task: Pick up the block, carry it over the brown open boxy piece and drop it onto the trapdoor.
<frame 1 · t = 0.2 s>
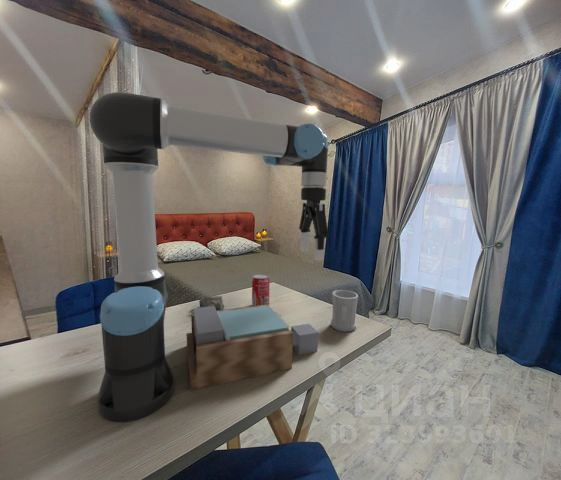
hand: (311, 255, 86), 27 cm above the table, fingers open, 13 cm apart
soda can: (260, 306, 114), on the table
block: (303, 347, 82), on the table
brown open boxy piece: (222, 358, 76), on the table
cup: (344, 327, 96), on the table
rock: (213, 311, 109), on the table
trapdoor: (238, 322, 76), point 10 cm above the table, hinge at 0.0°
stone: (271, 325, 98), on the table
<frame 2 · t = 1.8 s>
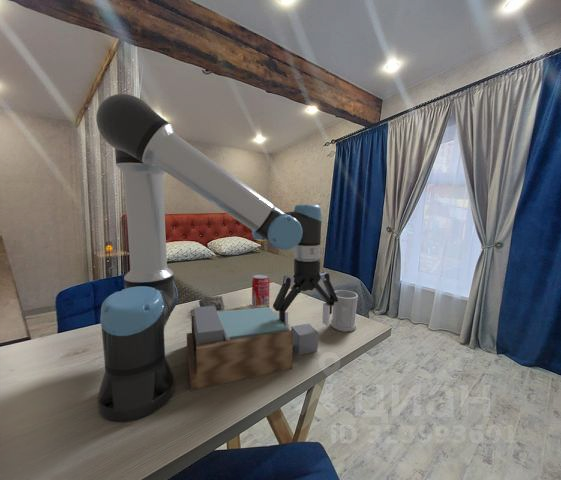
hand: (306, 328, 82), 6 cm above the table, fingers open, 13 cm apart
trapdoor: (238, 323, 76), point 10 cm above the table, hinge at -1.8°, touching gripper
everything else where it was.
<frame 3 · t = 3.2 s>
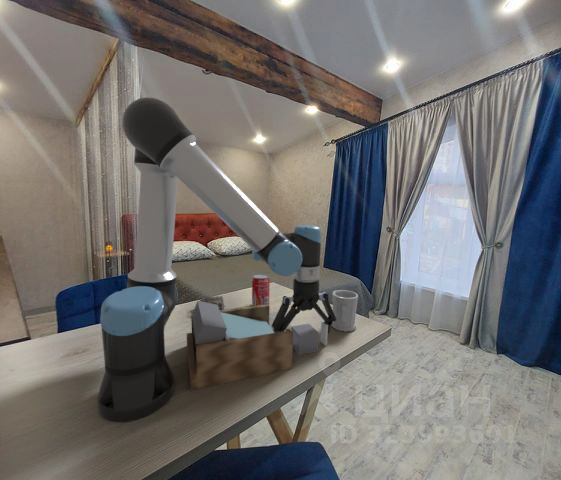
hand: (304, 347, 82), 0 cm above the table, fingers open, 13 cm apart
trapdoor: (237, 327, 76), point 9 cm above the table, hinge at -19.4°, touching gripper
everything else where it was.
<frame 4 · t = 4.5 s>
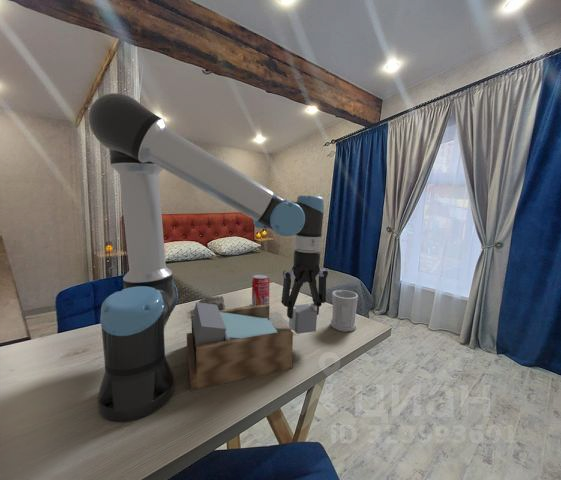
hand: (302, 326, 81), 7 cm above the table, fingers closed on block, 6 cm apart
block: (302, 327, 81), point 6 cm above the table, touching gripper
trapdoor: (238, 326, 76), point 9 cm above the table, hinge at -15.3°
everything else where it was.
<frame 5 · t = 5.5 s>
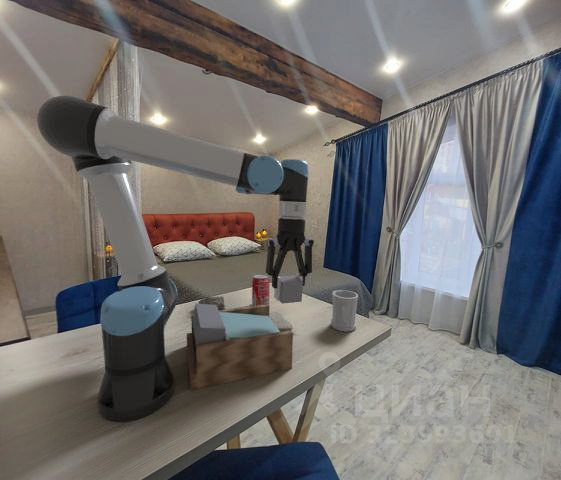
hand: (287, 297, 79), 16 cm above the table, fingers closed on block, 6 cm apart
block: (287, 298, 79), point 16 cm above the table, touching gripper
trapdoor: (238, 325, 76), point 9 cm above the table, hinge at -12.3°
everything else where it was.
when the fingers open (12 cm above the table, at t = 7.4 s): block drops 8 cm and tips over, resting on trapdoor.
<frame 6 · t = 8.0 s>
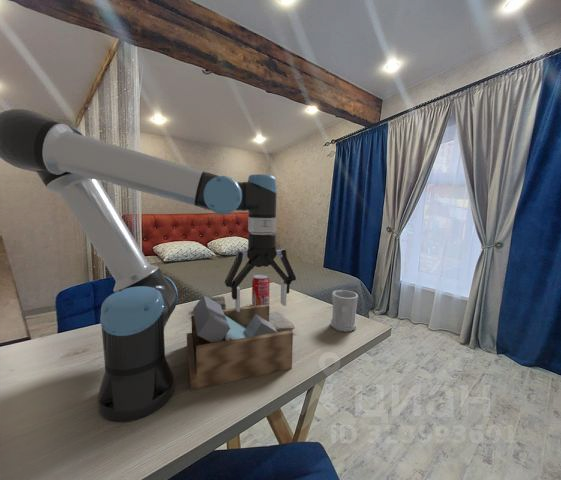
hand: (261, 307, 78), 14 cm above the table, fingers open, 13 cm apart
block: (254, 340, 78), point 4 cm above the table, tilted 37°, touching trapdoor
trapdoor: (235, 332, 76), point 7 cm above the table, hinge at -36.9°, touching block
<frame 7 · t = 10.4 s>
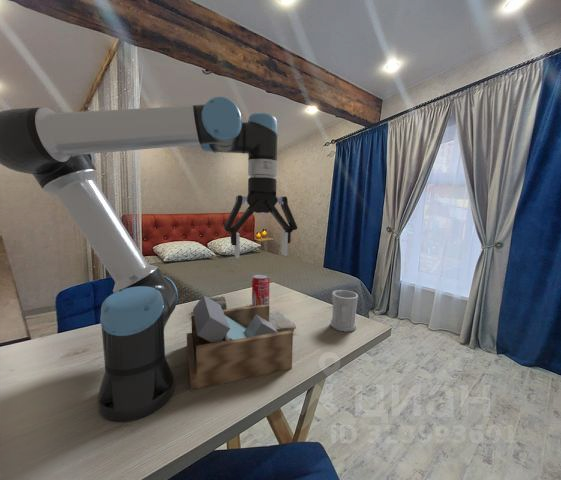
hand: (261, 256, 75), 28 cm above the table, fingers open, 13 cm apart
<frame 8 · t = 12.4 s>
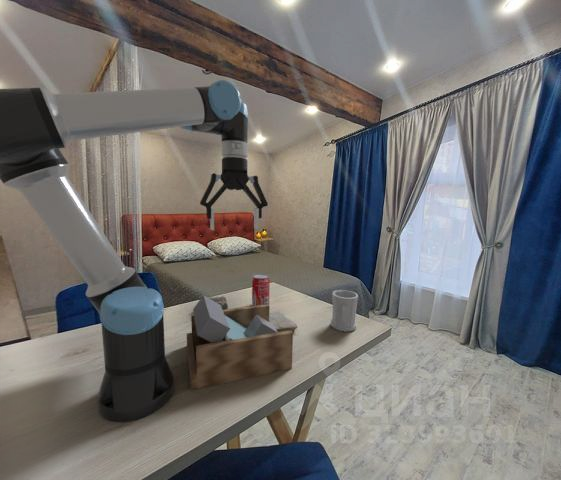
hand: (234, 229, 84), 35 cm above the table, fingers open, 13 cm apart
at the end: trapdoor at -37° (first picture: +0°); block point 3.7 cm above the table; the gripper is holding nothing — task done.
